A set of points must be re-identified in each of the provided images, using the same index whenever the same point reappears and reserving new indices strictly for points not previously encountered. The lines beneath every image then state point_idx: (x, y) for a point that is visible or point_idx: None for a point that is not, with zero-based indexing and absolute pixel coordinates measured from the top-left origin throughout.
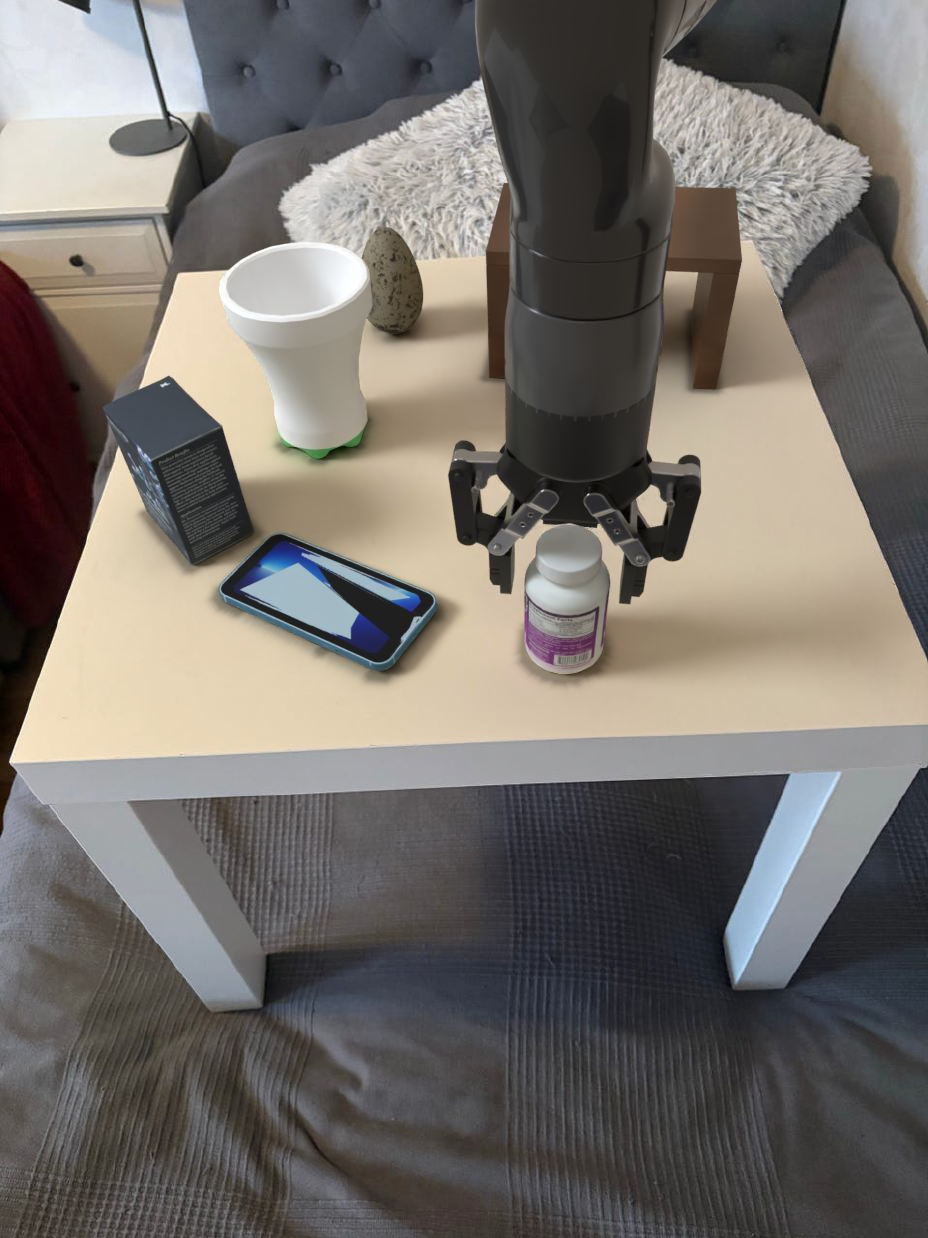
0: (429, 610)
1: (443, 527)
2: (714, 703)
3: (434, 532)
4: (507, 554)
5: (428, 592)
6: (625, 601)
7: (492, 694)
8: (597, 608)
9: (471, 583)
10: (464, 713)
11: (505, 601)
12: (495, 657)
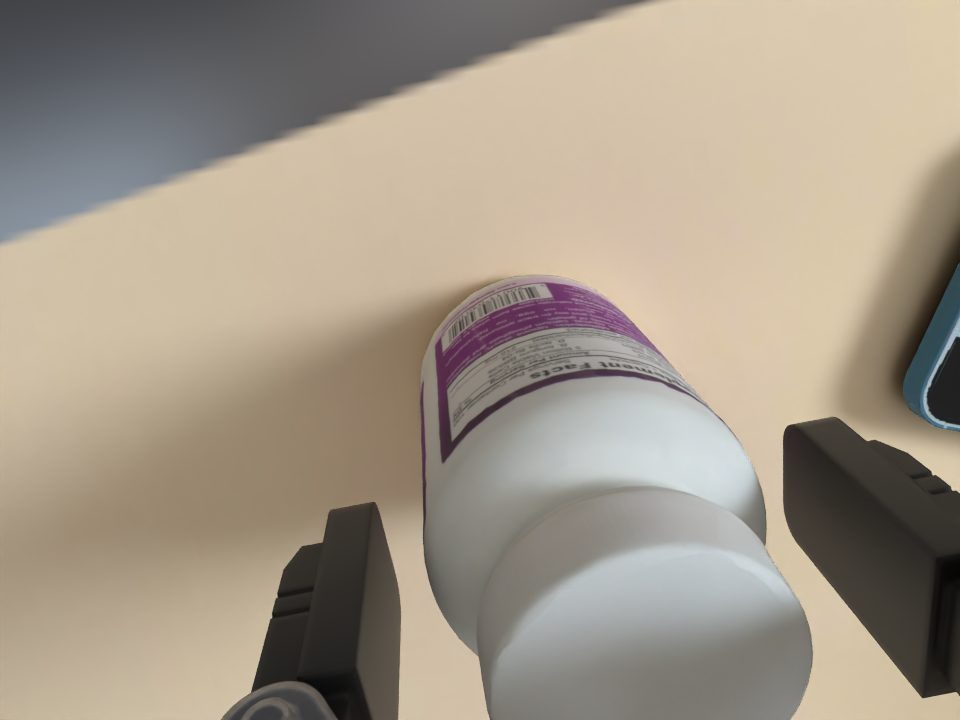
0: (936, 366)
1: None
2: (66, 310)
3: None
4: (951, 564)
5: (945, 424)
6: (348, 513)
7: (693, 152)
8: (447, 453)
9: None
10: (764, 57)
11: None
12: (707, 283)
